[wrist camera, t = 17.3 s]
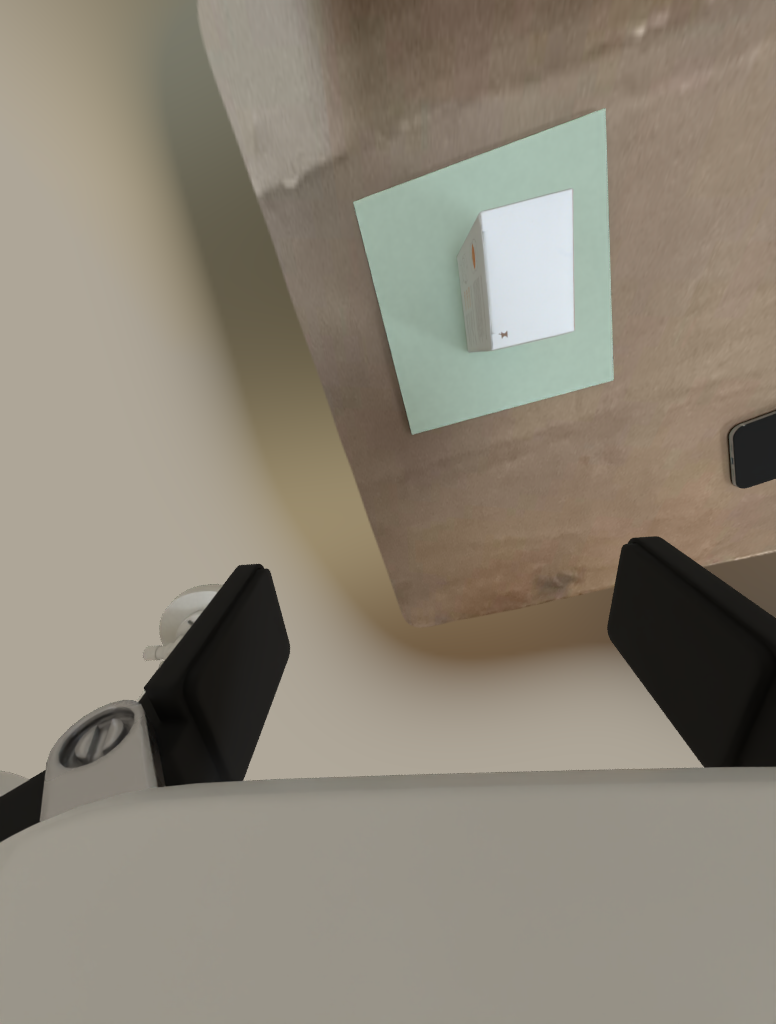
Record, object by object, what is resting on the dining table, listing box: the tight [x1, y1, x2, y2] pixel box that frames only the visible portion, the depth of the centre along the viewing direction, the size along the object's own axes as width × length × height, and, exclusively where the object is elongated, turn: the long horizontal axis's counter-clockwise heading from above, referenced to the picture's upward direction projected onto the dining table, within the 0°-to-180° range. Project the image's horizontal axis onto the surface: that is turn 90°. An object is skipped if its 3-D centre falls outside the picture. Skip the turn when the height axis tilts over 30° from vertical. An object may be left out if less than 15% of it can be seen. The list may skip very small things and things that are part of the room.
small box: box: [457, 188, 575, 353], centre depth 27 cm, size 8×6×10 cm
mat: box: [353, 108, 614, 435], centre depth 32 cm, size 20×20×1 cm
